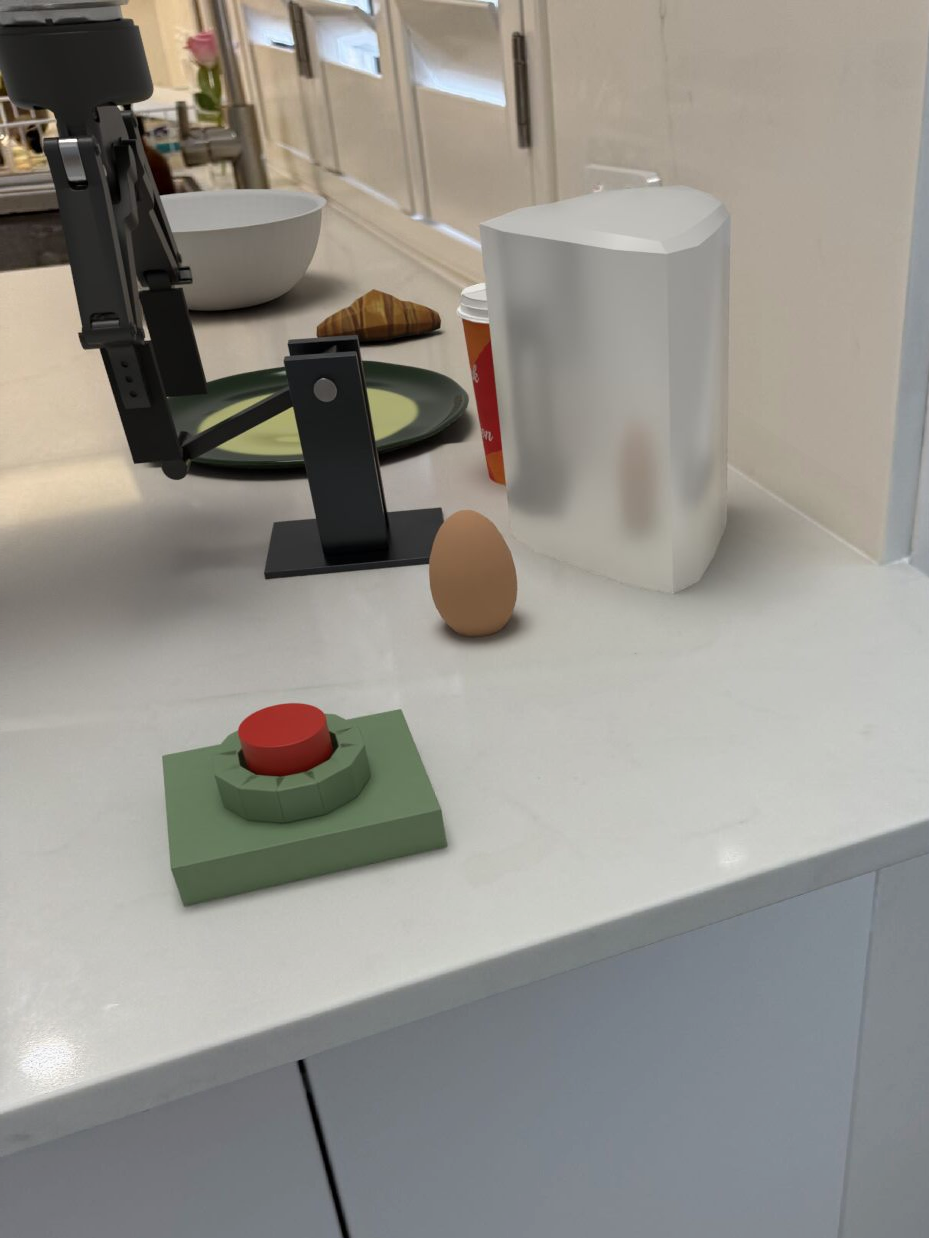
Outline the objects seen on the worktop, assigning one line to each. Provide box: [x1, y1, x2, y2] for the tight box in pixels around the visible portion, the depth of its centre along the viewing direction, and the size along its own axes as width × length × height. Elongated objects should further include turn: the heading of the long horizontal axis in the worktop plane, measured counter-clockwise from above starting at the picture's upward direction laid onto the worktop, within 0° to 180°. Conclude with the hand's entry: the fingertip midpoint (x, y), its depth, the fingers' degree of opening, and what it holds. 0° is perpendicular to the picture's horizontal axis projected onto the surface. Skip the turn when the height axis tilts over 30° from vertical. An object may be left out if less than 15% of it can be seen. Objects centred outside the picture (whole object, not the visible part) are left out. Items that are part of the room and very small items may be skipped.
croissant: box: [315, 289, 442, 343], centre depth 129 cm, size 14×7×5 cm, turn 112°
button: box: [237, 702, 333, 777], centre depth 56 cm, size 4×4×2 cm
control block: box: [161, 708, 448, 907], centre depth 58 cm, size 12×10×4 cm
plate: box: [167, 359, 470, 470], centre depth 105 cm, size 28×28×2 cm
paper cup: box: [456, 282, 506, 486], centre depth 90 cm, size 8×8×14 cm
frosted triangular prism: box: [478, 184, 731, 595], centre depth 78 cm, size 15×14×22 cm
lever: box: [160, 345, 340, 481], centre depth 78 cm, size 13×5×2 cm, turn 100°
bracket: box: [263, 335, 445, 580], centre depth 80 cm, size 12×9×14 cm
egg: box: [428, 509, 518, 638], centre depth 72 cm, size 5×5×8 cm
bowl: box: [136, 188, 328, 312], centre depth 142 cm, size 27×27×10 cm
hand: (174, 425), depth 77 cm, fingers open, 13 cm apart
